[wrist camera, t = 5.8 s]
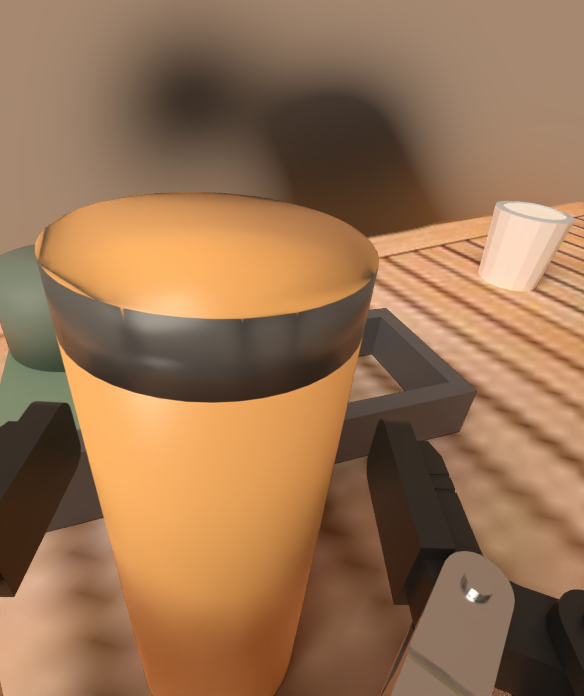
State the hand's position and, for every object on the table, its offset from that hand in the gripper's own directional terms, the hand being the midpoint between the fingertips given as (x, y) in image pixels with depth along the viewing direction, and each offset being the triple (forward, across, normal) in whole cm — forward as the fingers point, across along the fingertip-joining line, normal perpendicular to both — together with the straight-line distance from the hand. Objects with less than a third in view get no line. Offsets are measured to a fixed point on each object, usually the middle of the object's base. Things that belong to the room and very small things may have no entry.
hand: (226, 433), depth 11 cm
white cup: (+31, -25, +8) cm, 41 cm away
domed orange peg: (-2, 0, +8) cm, 8 cm away
